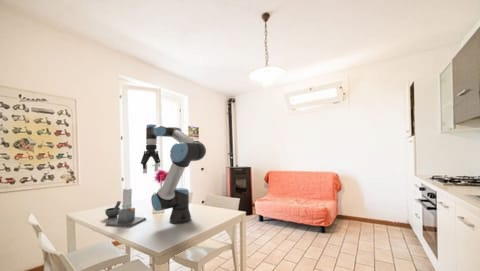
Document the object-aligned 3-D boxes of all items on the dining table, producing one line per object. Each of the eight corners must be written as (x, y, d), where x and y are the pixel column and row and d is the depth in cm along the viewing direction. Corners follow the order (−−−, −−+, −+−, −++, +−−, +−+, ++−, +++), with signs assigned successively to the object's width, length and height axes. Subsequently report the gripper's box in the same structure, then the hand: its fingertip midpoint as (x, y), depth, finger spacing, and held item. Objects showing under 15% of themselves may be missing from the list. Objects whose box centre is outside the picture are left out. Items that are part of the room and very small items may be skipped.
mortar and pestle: (110, 221, 156) (110, 204, 157) (102, 219, 160) (102, 203, 161) (124, 216, 166) (124, 201, 167) (116, 215, 170) (116, 200, 171)
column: (131, 212, 154) (132, 188, 155) (127, 213, 150) (127, 189, 151) (125, 211, 155) (126, 188, 156) (121, 213, 151) (122, 189, 152)
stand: (146, 219, 158) (146, 205, 158) (130, 227, 142) (130, 211, 143) (123, 218, 162) (123, 204, 163) (105, 225, 147) (106, 210, 147)
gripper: (156, 145, 176) (156, 170, 174) (135, 144, 152) (135, 174, 150) (165, 144, 174) (164, 170, 173) (144, 144, 150) (144, 174, 149)
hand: (150, 172), depth 162 cm, fingers open, 13 cm apart
